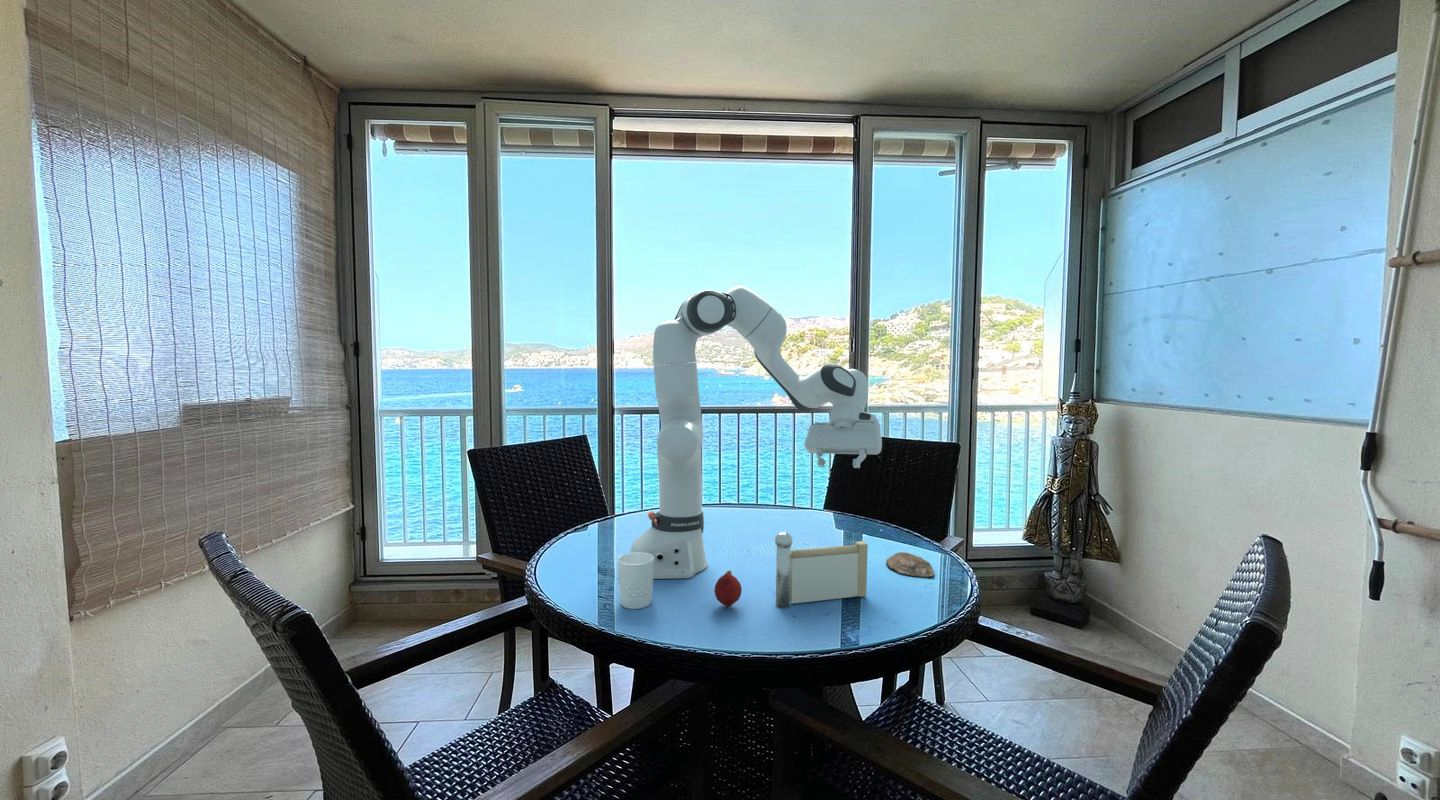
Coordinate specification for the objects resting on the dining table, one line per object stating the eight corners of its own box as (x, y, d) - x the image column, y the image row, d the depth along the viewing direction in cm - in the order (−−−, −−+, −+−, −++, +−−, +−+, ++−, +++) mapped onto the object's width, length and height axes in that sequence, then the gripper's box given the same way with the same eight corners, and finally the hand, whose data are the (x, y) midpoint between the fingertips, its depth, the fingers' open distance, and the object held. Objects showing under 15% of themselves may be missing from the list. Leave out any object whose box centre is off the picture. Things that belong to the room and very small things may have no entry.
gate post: (777, 609, 118) (779, 535, 117) (771, 602, 121) (772, 530, 120) (794, 607, 119) (795, 534, 118) (787, 600, 122) (788, 529, 121)
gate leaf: (792, 604, 119) (793, 550, 119) (788, 600, 121) (789, 547, 121) (866, 595, 124) (867, 544, 123) (861, 591, 126) (862, 541, 126)
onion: (732, 615, 115) (732, 577, 114) (709, 608, 118) (709, 572, 117) (745, 605, 119) (746, 569, 119) (723, 599, 123) (723, 564, 122)
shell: (886, 575, 139) (887, 561, 139) (885, 559, 151) (886, 546, 151) (935, 580, 136) (935, 566, 135) (930, 563, 148) (930, 550, 148)
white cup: (647, 612, 116) (647, 566, 115) (612, 608, 117) (612, 563, 116) (658, 597, 123) (658, 553, 123) (625, 593, 125) (625, 551, 124)
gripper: (806, 416, 152) (796, 458, 144) (881, 414, 141) (874, 460, 134) (813, 429, 156) (804, 471, 149) (886, 428, 146) (879, 473, 138)
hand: (838, 466), depth 141 cm, fingers open, 8 cm apart
